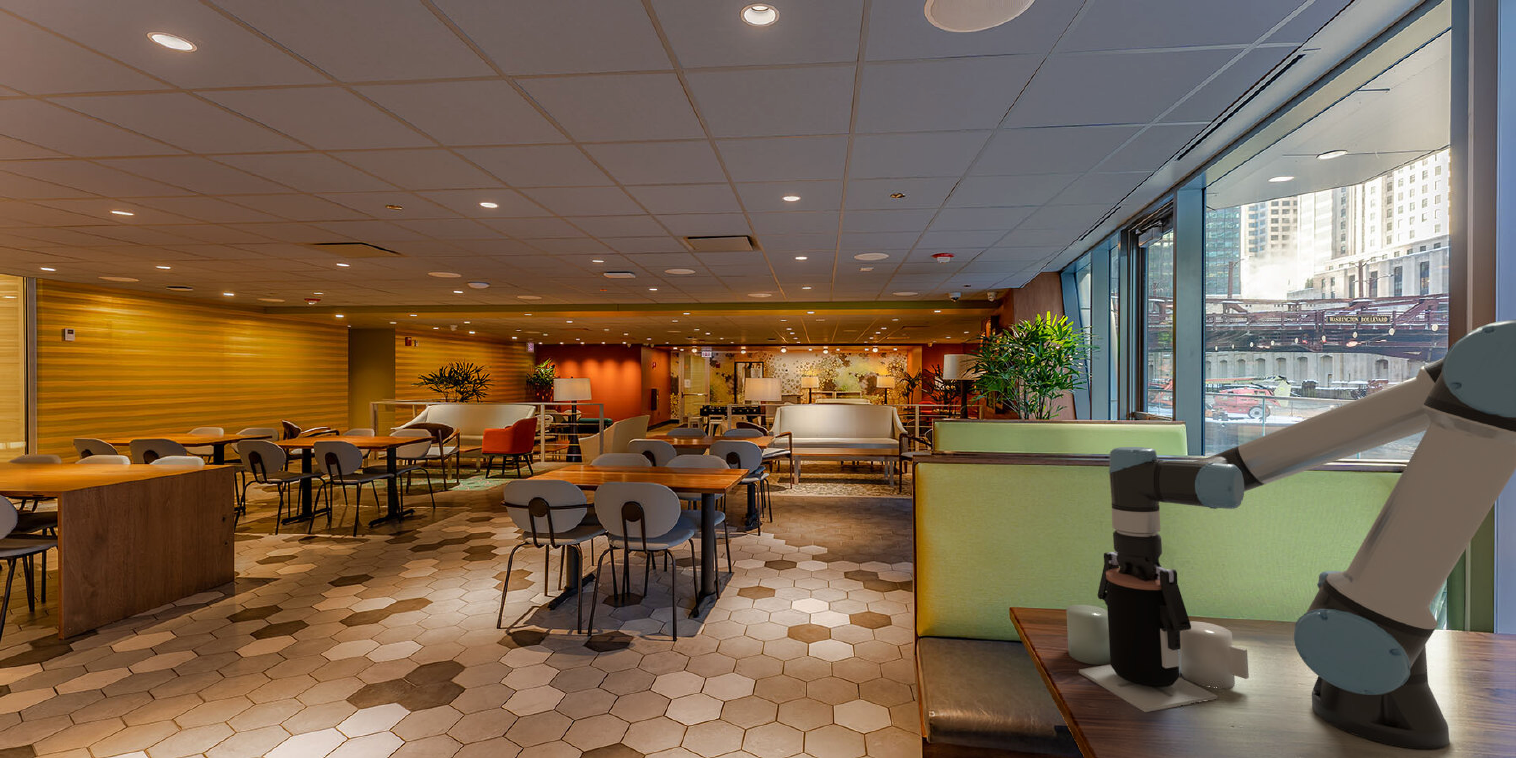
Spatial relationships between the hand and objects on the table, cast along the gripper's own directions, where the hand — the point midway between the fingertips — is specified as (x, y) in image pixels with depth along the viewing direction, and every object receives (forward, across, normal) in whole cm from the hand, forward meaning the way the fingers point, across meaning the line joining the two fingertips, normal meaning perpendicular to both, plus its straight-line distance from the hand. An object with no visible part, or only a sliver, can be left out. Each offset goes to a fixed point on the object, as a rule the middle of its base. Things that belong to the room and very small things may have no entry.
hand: (1143, 653), depth 110 cm
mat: (+6, 0, 0) cm, 6 cm away
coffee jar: (+4, 0, 0) cm, 4 cm away
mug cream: (+6, -2, -13) cm, 15 cm away
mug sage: (+6, +13, -1) cm, 14 cm away
